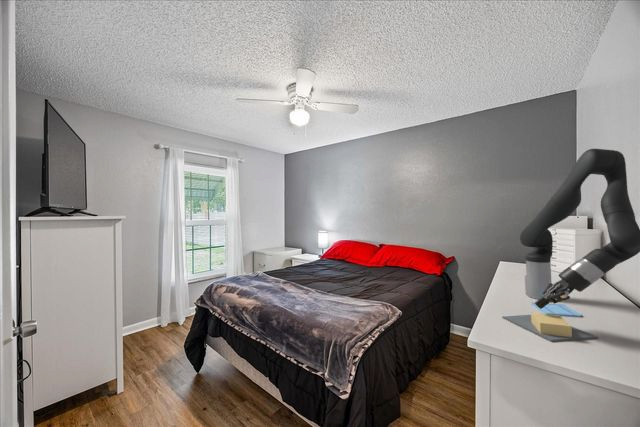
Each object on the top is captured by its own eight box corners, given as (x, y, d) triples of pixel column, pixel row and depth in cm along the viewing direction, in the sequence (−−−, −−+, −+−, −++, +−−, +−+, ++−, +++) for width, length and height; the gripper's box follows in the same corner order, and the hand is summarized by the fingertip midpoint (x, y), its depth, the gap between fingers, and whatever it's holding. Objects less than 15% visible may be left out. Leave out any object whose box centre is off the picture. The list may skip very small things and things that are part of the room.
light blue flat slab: (583, 318, 102) (583, 315, 102) (545, 316, 105) (545, 312, 105) (563, 307, 114) (563, 304, 114) (530, 305, 118) (530, 302, 118)
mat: (502, 318, 103) (502, 316, 103) (540, 315, 105) (540, 314, 105) (551, 341, 84) (550, 339, 84) (597, 338, 85) (597, 336, 85)
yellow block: (531, 322, 97) (540, 333, 88) (530, 312, 97) (540, 322, 88) (559, 325, 94) (571, 337, 85) (559, 315, 94) (571, 326, 85)
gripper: (562, 263, 98) (523, 293, 103) (578, 270, 86) (533, 303, 92) (582, 278, 96) (540, 308, 101) (601, 288, 84) (553, 321, 89)
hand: (537, 306), depth 96 cm, fingers closed
